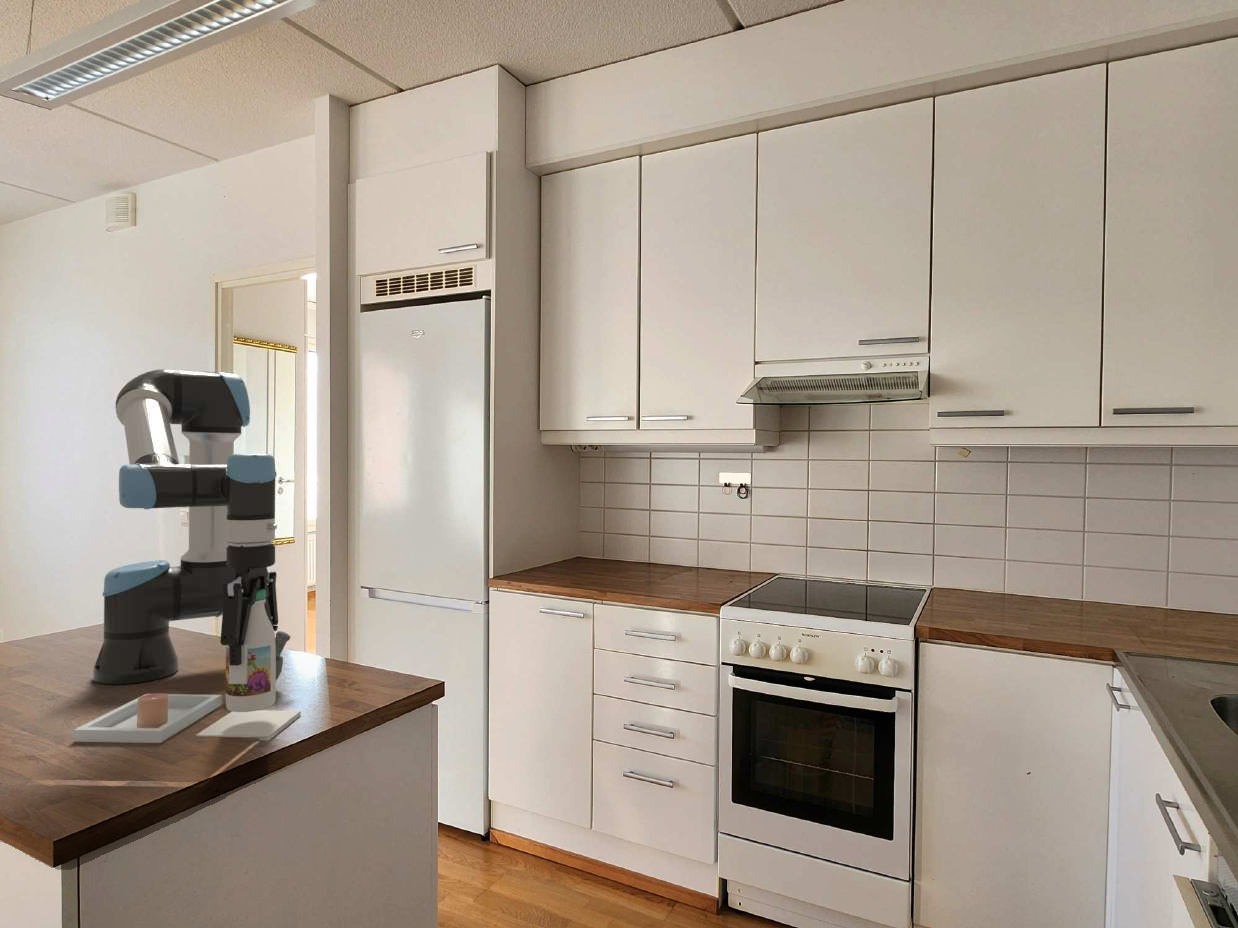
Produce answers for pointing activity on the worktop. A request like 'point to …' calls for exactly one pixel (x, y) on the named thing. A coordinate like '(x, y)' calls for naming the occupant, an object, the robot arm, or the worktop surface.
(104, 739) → the tray
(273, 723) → the pad
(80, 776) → the worktop surface
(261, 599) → the milk bottle
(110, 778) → the worktop surface
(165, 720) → the pinkish brown rounded cylinder
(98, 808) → the worktop surface
